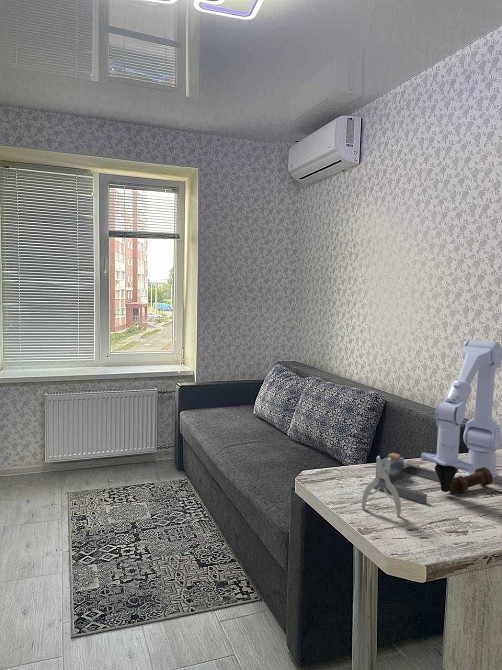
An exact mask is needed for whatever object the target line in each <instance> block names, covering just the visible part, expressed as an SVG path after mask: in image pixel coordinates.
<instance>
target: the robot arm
mask: <svg viewBox="0 0 502 670" xmlns="http://www.w3.org/2000/svg"><path fill="white" fill-rule="evenodd" d="M462 358H463V363H462V365H461V369H460V371H459V375H458V377H457V380H453V381H452V382H451V383H450V386H449V388H448V389H447V392H446V395H445V397H444V398H443V400H442V401H441V402H438V404H436V407H435V412H434V417H435V420H436V427H437V428H438V429H437V441H436V442H437V443H436V444H437V446H436V454H433V453H427V452H422V453H421V455H420V461H422V462H425V461H426V462H429V463H433V464H436V465H435V466H434V471H436V473H437V475H438V477H439V481H440V482H439V484H440V485H439V486H440V488H441V490H440V491H441V492H444V493H447V492H449V488H450V485H451V482H452V480H453V477H454V476H455V477H456V475H457V472H458V471H459V470H461V471H463V472H464V473H462V476H463V477H465V476H468V475H471V474H474V473H475V470H476V469H479V468H482V467H485V468H487V469H488V470H489V471H490V472H491V474H492V477H493V479H495V478H497V477H498V476H499V473H498V472H496V464H497V453H496V451H498V450H499V449H500V446H501V443H502V435H501V426H499V424H498V423H497V422H495V421H494V420H493V419H492V417H493V415H492V413H493V404H494V402H493V401H494V391H495V390H494V389H495V378H496V369H499V368H501V366H502V344H500V342H499V341H489V340H488V341H486V340H474V339H469V338H468V339H466V340H465V341H464V342H463V346H462ZM476 375H477V377H476ZM475 377H476V378H477V379H476V380H477V381H476V390H475V392H476V393H475V406H474V418H471V419H469V420H468V421H467V422H466V423H465V428H464V432H463V436H462V437H463V443H465V445H466V448H467V449H468V456H467V457H468V458H467V462H466V461H464V460H461V459H459V450H460V448H459V447H460V434H461V425H462V423H463V422H464V420H465V417H466V410H467V406H466V405H467V402H468V400H469V398H470V396H471V394H472V390H473V389H472V387H471V384H472V382H473V380H474V379H475Z"/></svg>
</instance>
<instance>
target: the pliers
mask: <svg viewBox="0 0 502 670" xmlns="http://www.w3.org/2000/svg"><path fill="white" fill-rule="evenodd" d="M381 460H382V459H381V456H380V455H377V457H376V462H375V471H376V470H377V475H376V474H375V477H374V479H373V480H372V481H371V482H370V483H368V485H367V486H366V488H365V489H364V492H363V494H362V499H361V510H362V511H365V510H366V506H367V501H368V499H369V496H371V495H372V496H373V495H374V494H376V493H378V491H380V490H379V489H380V487H379V488H378V489H375V491H372V490H374V487H375V486H377V485H378V483H379V480H380V478H382V479H384V480H385V483H386V487H387V488H388V489H389V491H390V492H391V494H390V493H388V492H387V491H386V489H385V488H384V491H385V492H384V493H385V494H386V496H388V497H389V499H391V500H393V501H394V505H395V509H396V510H395V511H396V517H397V518H400V517H401V511H402V510H401V509H402V507H401V506H402V505H401V499H400V498H401V497H399V495H398V492H397V490H396V488H395V487H394V486H393V485H392V484H393V482H392V483H391V481H390V480H389V475H388V474H389V471H390V464H391V458H388V460H387V462H386V465H385V468H382V464H381Z"/></svg>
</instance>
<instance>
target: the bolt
mask: <svg viewBox="0 0 502 670" xmlns="http://www.w3.org/2000/svg"><path fill="white" fill-rule="evenodd" d="M493 479H494V478H493V477H492V474H491V472H490V471H489V470H488V469H487V468H485V467H482V468H479V469H476V470H475V473H474V474H471V475H468V476H463V475H459V476H458V475H457V476H455V478H453V480H452V482H451V485H450V488H449V491H448V492H450V493H452V494H453V493H457V492H458V493H463V492H464V493H465V492H467V491H468V490H469V488H471V487H475V486H477V485H480V486H481V487H484V486H488V485H492V484H493V481H494V480H493Z"/></svg>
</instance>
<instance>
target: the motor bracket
mask: <svg viewBox="0 0 502 670" xmlns="http://www.w3.org/2000/svg"><path fill="white" fill-rule="evenodd" d="M388 458H391V464H390V471H389V474H388V475H389V480H390V481H391V483H392V485H393V486H394V487H395V488H396V490H397V492H398V495H399V498H401V499H402V498H403V499H406V500H409V501H413V502H416V503H419V504H422V505H425V504H427V499H428V494H427V493H424V492H421V491H417V490H414V489H411V488H407V487H405V486H401V485H398V484H394V482H395V481H397V480H399V479H401V478H403V477H405V476H407V475H408V474H410V475H413V476H417V477H421V478H424V479H428V480H431V481H434V482H435V481H436V482H438V483H440V481H439V477H438V475H437V473H436V471H435V469H434V470H433V469H430V468H425V467H422V466H419V465H414V464H411V463H406V464H405V457H403V456H401V455H400V454H399V453H396V452H391V453H388V454H387V456H386V457H385V458H382V459H381V464H382V468H385V465H386V462H387V460H388ZM376 475H377V470H376V469H375V476H376ZM455 477H456V475H455V476H454V477H453V478H455ZM379 487H380V489H379V490H378V491H381V492H384V493H385V491H384V488H385V489H386V491H387V492H388V494H390V495H392V494H391V492H390V491H389V489H388V488H387V487H386V483H385V480H384V479H382V478H380V480H379V483H378V485H377V486H375V487H374V488H373V490H374V489H375V490H377V489H378V488H379Z"/></svg>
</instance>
